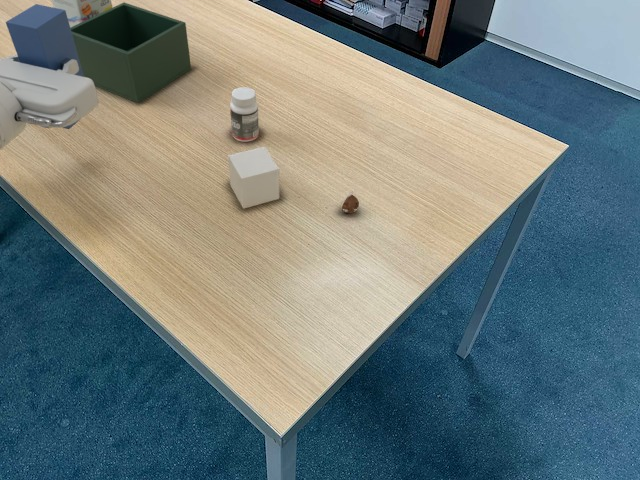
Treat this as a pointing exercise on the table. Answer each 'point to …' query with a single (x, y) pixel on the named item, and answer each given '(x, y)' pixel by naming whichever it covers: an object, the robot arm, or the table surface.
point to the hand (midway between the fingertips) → (54, 59)
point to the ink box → (81, 9)
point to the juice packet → (43, 38)
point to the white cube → (254, 177)
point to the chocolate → (350, 203)
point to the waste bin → (132, 50)
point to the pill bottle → (244, 114)
